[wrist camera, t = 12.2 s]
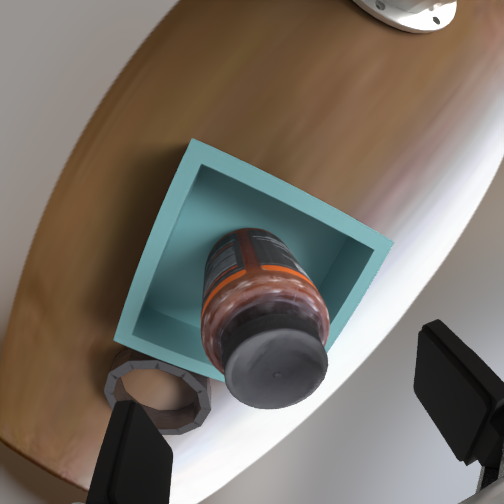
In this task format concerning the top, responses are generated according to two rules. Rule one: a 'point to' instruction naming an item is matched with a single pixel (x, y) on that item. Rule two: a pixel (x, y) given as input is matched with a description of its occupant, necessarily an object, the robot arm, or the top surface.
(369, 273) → the bin
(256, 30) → the top surface
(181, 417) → the collar
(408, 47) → the top surface
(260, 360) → the supplement bottle
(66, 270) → the top surface
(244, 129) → the top surface
